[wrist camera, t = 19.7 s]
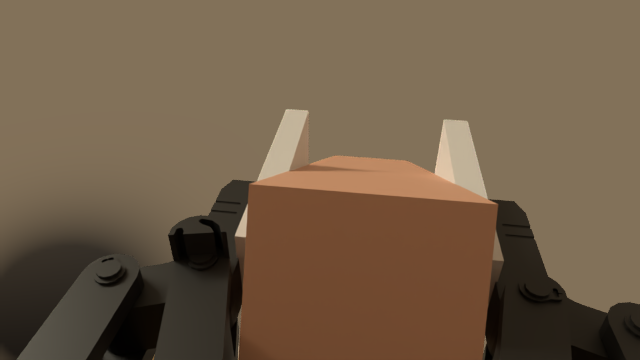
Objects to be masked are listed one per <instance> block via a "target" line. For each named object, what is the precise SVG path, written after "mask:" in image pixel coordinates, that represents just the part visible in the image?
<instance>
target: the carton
mask: <svg viewBox="0 0 640 360" xmlns="http://www.w3.org/2000/svg"><path fill="white" fill-rule="evenodd" d="M497 211H498V204H496V203H494V202H492V201H490V200H488V199H486V198H484V197H482V196H480V195H478V194H476V193H473V192H471V191H469V190H467V189H465V188H463V187H461V186H459V185H457V184H454V183H452V182H450V181H448V180H446V179H444V178H441V177H439V176H437V175H435V174H434V173H432V172H430V171H428V170H426V169H423V168H421V167H419V166H417V165H415V164H413V163H411V162H409V161H404V160H391V159H377V158H364V157H350V156H333V157H329V158H326V159H323V160H320V161H317V162H314V163H311V164H309V165H306V166H303V167H300V168H297V169H294V170H291V171H287V172H284V173H281V174H278V175H275V176H272V177H269V178H266V179H263V180H260V181H257V182H254V183H251V184H249V194H248V210H247V227H246V244H245V261H244V278H243V295H242V311H241V312H242V313H241V328H240V345H239V360H482V358H483V348H484V338H485V329H486V319H487V309H488V299H489V289H490V280H491V270H492V260H493V250H494V240H495V230H496V220H497Z"/></svg>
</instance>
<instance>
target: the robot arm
mask: <svg viewBox="0 0 640 360" xmlns="http://www.w3.org/2000/svg"><path fill="white" fill-rule="evenodd" d="M308 112H309V111H306V110H290V109H286V111H285V114H284V116H283V119H282V121H281V124H280V126H279V129H278V131H277V134H276V136H275V138H274V141H273V143H272V146H271V148H270V151H269V153H268V155H267V158H266V160H265V163H264V165H263V168H262V170H261V173H260V175H259V177H258V180H257V181H260V180H263V179H266V178H269V177H272V176H275V175H278V174H281V173H284V172H287V171H291V170H294V169H297V168H300V167H303V166H306V165H309V120H308V119H309V115H308ZM435 175H437V176H439V177H441V178H444V179H446V180H448V181H450V182H452V183H454V184H457V185H459V186H461V187H463V188H465V189H467V190H469V191H471V192H473V193H476V194H478V195H480V196H482V197H484V198H486V199H488V198H487V194H486V191H485V186H484V183H483V179H482V175H481V171H480V167H479V164H478V160H477V156H476V153H475V148H474V144H473V140H472V137H471V133H470V129H469V125H468V122H467V121H458V120H444V122H443V128H442V134H441V139H440V146H439V151H438V158H437V163H436V169H435ZM251 183H254V182H252V181H241V180H232V181H231V182H230V183H229V184H227V185H226V186H225V187H224V188H222V189H221V191H220V193H219V195H218V197H217V200H216V203H214V205H213V207H212V209H211V212H210V213H209V215H208V216H201V215H200V216H194V217H189V218H187V219H185V220H182V221H180V222H179V223H177V224H176V225H175V226H174V227H172V229H171V231H170V233H169V234H168V236H169V241H170V245H171V250H172V255H173V259H174V261H172V262H169V263H165V264H160V265H153V266H146V267H139V263H138V261H137V260H136V259H135V258H133V257H132V256H129V255H125V254H112V255H108V256H105V257H102V258H99V259H98V260H96V261H94V262H92V263H91V264H90V265H89V266H88V267H87V268H85V269H84V270H83V272H82V273H81V274H80V276H79V277H78V278H77V280H76V281H75V282H74V284H73V285H72V286H71V288H70V289H69V291H68V292H67V293H66V294H65V296H64V297H63V298H62V300H61V301H60V302H59V304H58V305H57V306H56V308H55V309H54V310H53V312H52V313H51V314H50V316H49V317H48V318H47V320H46V321H45V322H44V324H43V325H42V326H41V328H40V329H39V331H38V332H37V333H36V335H35V336H34V337H33V338H32V340H31V341H30V342H29V344H28V345H27V346H26V348H25V349H24V351H23V352H22V353H21V354H20V356H19V357H18V358H17V360H152V359H153V356H154V354H155V357H154V360H238V340H239V326H238V318H237V317H238V313H239V311H240V308H241V305H242V295H243V278H244V261H245V244H246V227H247V210H248V194H249V184H251ZM488 200H489V199H488ZM490 201H492V202H494V203H496V204H498V211H497V220H496V230H495V240H494V250H493V260H492V270H491V280H490V289H489V299H488V309H487V319H486V329H485V336H486V341H487V344H486V347H485V350H484V353H483V358H482V360H640V304H635V303H630V302H629V303H618V304H616V305H614V306H612V307H611V308H610V310H609V312H608V313H605V312H602V311H599V310H596V309H593V308H590V307H587V306H584V305H582V304H579V303H576V302H574V301H572V300H570V299H569V298H567V296H566V293H565V291H564V289H563V288H562V287H561V286H560V285H559V284H558V283H557V282H556V281H554V280H553V279H551V278H549V277H548V275H547V272H546V269H545V267H544V264H543V261H542V258H541V255H540V253H539V250H538V247H537V244H536V241H535V240H534V235H533V233H532V230H531V229H530V224H529V221H528V218H527V216H526V213H525V212H524V211H523V210H522V209H521V208H520V207H519V206H518V205H517V204H516V203H515V202H514V201H503V200H491V199H490Z"/></svg>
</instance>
